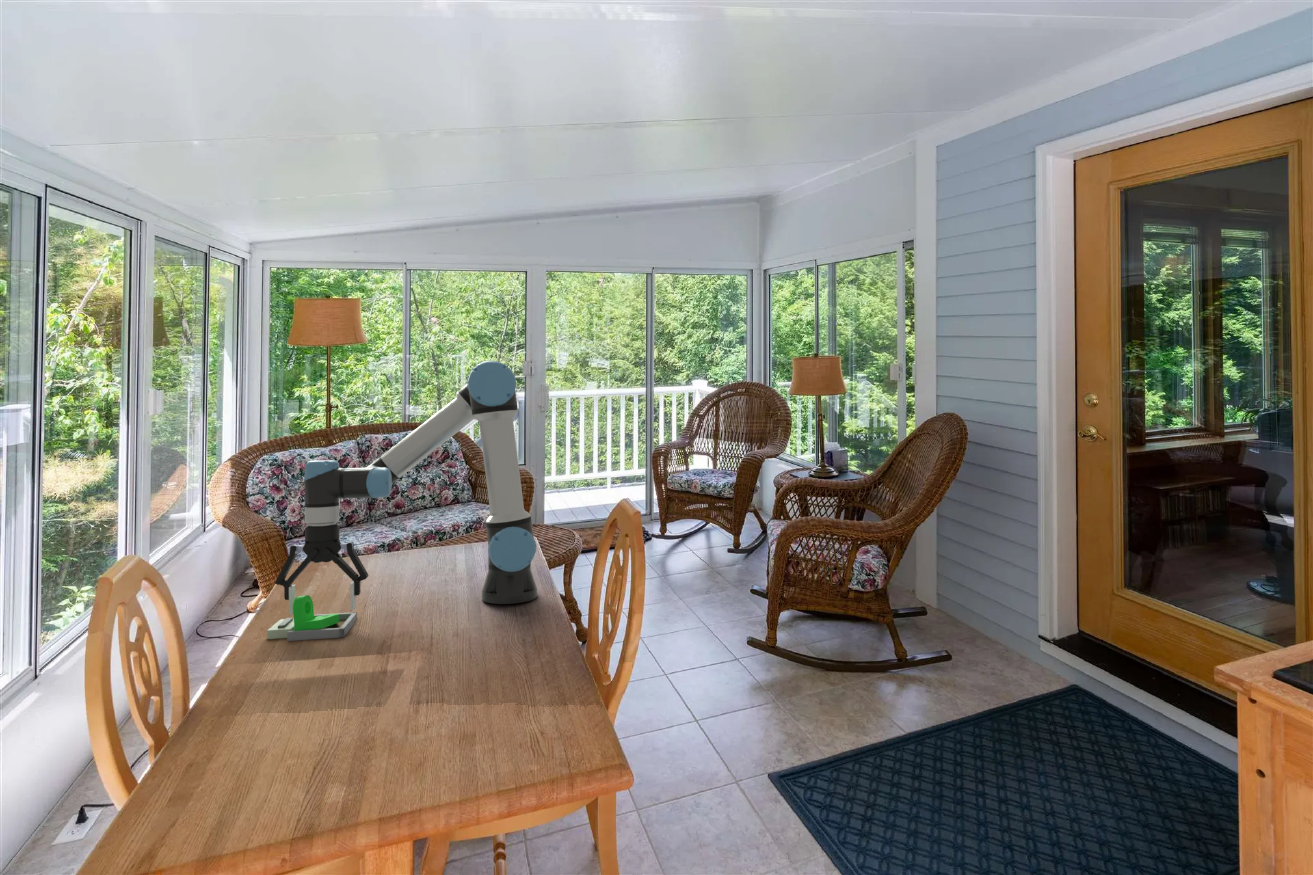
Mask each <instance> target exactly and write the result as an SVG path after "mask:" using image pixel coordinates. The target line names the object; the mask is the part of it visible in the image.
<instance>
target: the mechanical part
mask: <svg viewBox="0 0 1313 875" xmlns="http://www.w3.org/2000/svg"><path fill="white" fill-rule="evenodd" d="M313 602H314V601H313V599H312V597H311V596H310V595H309V594H305V595H299V596H296V599H295V600H294V604H293V614H292V615H293V619H294V630H295V631H298V630H314V629H325V628H327V627H330V626H333V625H336V624H338V623H340V620H339V614H336V613H329V614H330V615H323V616H317V617H314V615H315V612H314V603H313Z"/></svg>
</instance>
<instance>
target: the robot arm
mask: <svg viewBox="0 0 1313 875" xmlns="http://www.w3.org/2000/svg"><path fill="white" fill-rule="evenodd" d="M516 387H517V381H516V375H515V374H514V373H513V371H512V369H511V368H510V367H509V366H508V365H506V364H504V363H503V362H500V361H498V360H485V361H481V362H479V363H478V364H476V365H475V366H474V367H473V368H472V369H471V370H470V372H469V374H468V376H467V383H466V384H464V386H463V387H462V388H460V389H459V390H458V391H457V392H456V395H455V398H454V399H452V401H450V402H449V403H447V404H446V405H445V406H443V407H442V408H441V409H440V410H438V411H437V412H436V413H434V414H433V415H432V416H431V417H430V418H428V419H427V420H425V422H423V423H422V424H421V425H419V426H418V427H417V428H415V429H414V430H413V431H412V432H410V433H409V434H408V435H406V436H405V437H404V438H403V439H401V440H400V441H399V442H398V443H396V444H395V445H394V446H392V447H391V448H390V449H388V450H387V451H386V452H385V453H384V454H382V455H380V456H379V458H377V459H375V460H374V461H373V462H372V463H371V464H369V465H368V466H366V467H349V468H347V467H340V465H339V462H338V461H337V460H310V461H307V462H306V463H305V465H304V476H303V477H304V479H303V486H304V523H305V524H307V525H305V526H304V545H300V544H297V543H295V544H293V545H291V546H290V548H289V554H288V556H287V559H286V561H285V563H284V565H283V566H282V569H281V570H280V572H279V574H278V575H277V578H276V580H275V585H277V586H278V585H279V586H283V589H284V593H283V594H284V595H283V598H284V600H285V601H288V615H290V616H291V615H293V604H294V600H295V599H296V597H297V593H296V591H297V590H296V589H297V588H296V587H297V586H296V584H293V583H294V582H295V581H296V580H297V578H298V577H299V576H300V575H301V574H302V572H304V570H305V569H306V568H307V567H308V566H309V565H310V564H311V563H312V562H313V563H314V564H318V563H330V562H333V563H334V564H336V565H337V566H338V567H339V568H340V569H341V570H342V572H344V573H345V575H346V576H348V578H350V580H352V581H351V582H350V588H349V589H350V591H349V592H350V593H349V594H350V611H355V610H356V608H357V596H360V594H361V582H362V581H364V580H366V579H368V578H369V573H368V571H367V569H366V568H365V566H364V564H363V562H362V560H361V559H360V557H359V556H358V553H357V552H356V550H355V543H354V542H353V541H349V542H346V543H342V542H341V540H340V524H339V523H338V522H339V521H340V499H345V500H346V499H377V498H387V497H389V496H390V495H391V494H392V486H393V484H394V483H395V482H397V481H398V480H399V479H400V478H401V477H403V476H404V475H405V474H406V473H407V472H408V471H409V472H410V470H411V469H413V468H414V467H415V466H417V465H418V464H420V462H422V461H423V460H425V458H427V457H428V456H430V454H432V453H433V452H434V451H436V450H437V449H438V448H439V447H440V446H442V445H443V444H444V443H446V442H447V441H448V440H450V439H451V438H452V437H453V436H454V435H456V434H457V433H459V432H460V431H461V430H462V429H464V428H465V427H466V426H468V425H469V424H470V423H471V422H473V421H474V420H476V421H477V422H478V424H479V432H480V440H481V449H482V456H483V465H484V472H485V478H486V479H485V481H486V490H487V497H488V503H489V504H488V505H489V512H490V513H489V515H488V517H487V518H486V520H485V521H484V522H485V528H486V529H485V530H486V538H487V546H488V549H487V556H488V557H487V558H488V559H487V560H488V563H487V566H488V567H487V568H488V569H487V570H488V571H487V575H486V577H485V580H484V583H483V587H482V590H481V601H483V602H485V603H490V604H494V605H495V604H499V605H510V604H520V603H525V602H526V603H527V602H529V601H533V600H535V599H536V598H537V597H538V587H537V585H536V580H535V579H534V576H533V575H534V574H533V572H532V564H531V563H532V561H533V559H534V558H535V555H536V552H537V543H536V540H535V538H534V530H533V522H532V515H531V513H529V512H528V511H526V509H525V506H524V498H523V490H522V482H521V475H520V472H521V471H520V466H519V457H518V456H519V455H518V450H517V442H516V434H515V433H516V432H515V425H514V417H515V416H516V415H517V414H518V412H519V410H518V403H517V402H518V401H517V393H516V392H517V391H516V390H517V388H516ZM342 549H343V551H344V552H345V553H347V555H348V557H349V558H350V560H351V563H352V564H353V566H354V567H355V570H356V571H357V572H356V571H355V570H354V569H353V568H352V567H351V566H350V564H348V563H347V562H346V561H345V560H344V559H343V557H342V556H341V555H340V554H339V552H340V551H341V550H342ZM301 551H303V553H305V556H306V557H305V559H304V560H302V562H301V563H300V565H298V567H297V568H296V569H295V570H294V571H293V573H292V574H290V576H289V577H288V578H287V579H286V577H287V575H288V574H289V572H290V570H291V567H293V564H294V562H295V560H296V558H297V557H298V555H299V554H301V553H302V552H301Z"/></svg>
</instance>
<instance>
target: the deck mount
mask: <svg viewBox="0 0 1313 875" xmlns="http://www.w3.org/2000/svg"><path fill="white" fill-rule="evenodd" d="M330 614H331V613H324V614H323V613H322V614H314V617H317V616H323V615H330ZM335 614H339V621H344V620H345V621H344V622H343V623H342V624H341V626H340V627H334V628H333V627H331V628H321V629H314V630H298V631H295V630H294V617H286V618H280V619H279V620H278V621H276V623H274V624H273V625H272V626H270V628H268V629H267V630H266V639H267V640H273V639H274V640H275V639H286V640H287V642H289V641H290V642H291V641H293V642H294V641H307V640H320V639H321V640H323V639H335V638H337V639H339V638H345V637H346V635H347V634H348V633H349V631H350V630H351V628H352V627H353V625H354V624H355V621H356V620H357V618H358V612H357V611H356V612H339V613H337V612H336V613H335Z"/></svg>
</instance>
